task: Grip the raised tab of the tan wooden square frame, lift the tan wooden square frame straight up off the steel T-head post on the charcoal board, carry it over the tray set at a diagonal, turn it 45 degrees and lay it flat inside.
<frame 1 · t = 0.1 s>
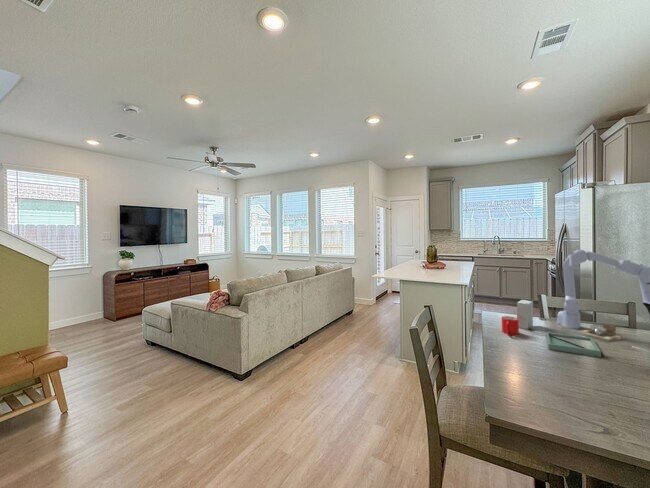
skincare box: (525, 327, 165), on the table
mug: (509, 333, 157), on the table
tan wooden square frame: (600, 335, 144), point 1 cm above the table, touching stake board
stake: (598, 339, 144), resting on stake board
tray: (570, 346, 137), on the table
stake board: (600, 338, 144), on the table
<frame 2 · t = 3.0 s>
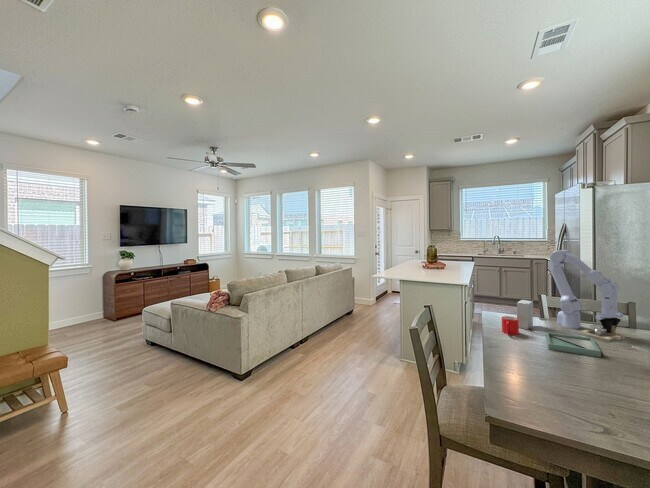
hand: (609, 332, 145), 3 cm above the table, tool pointing down, fingers closed on tan wooden square frame
tan wooden square frame: (600, 335, 144), point 1 cm above the table, touching gripper, stake board
everything else where it was.
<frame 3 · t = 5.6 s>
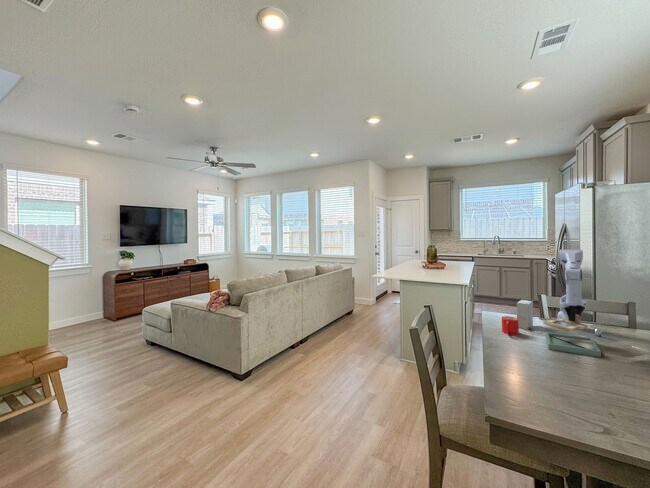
hand: (573, 320, 142), 10 cm above the table, tool pointing down, fingers closed on tan wooden square frame
tan wooden square frame: (565, 325, 141), point 9 cm above the table, touching gripper
everything else where it was.
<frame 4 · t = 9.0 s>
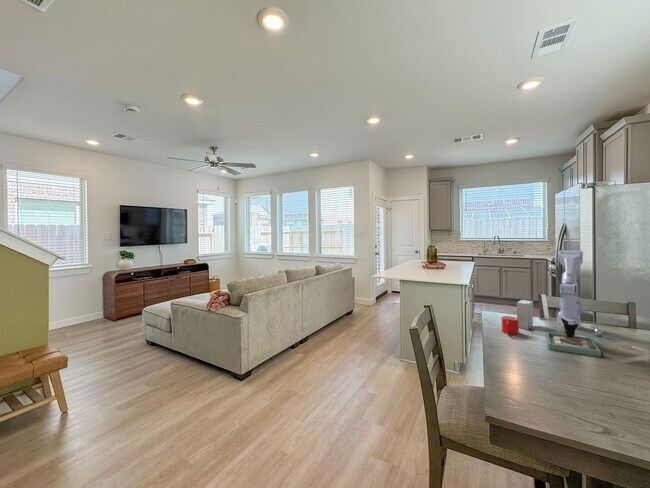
hand: (569, 335, 142), 4 cm above the table, tool pointing down, fingers open, 6 cm apart
tan wooden square frame: (570, 344, 137), point 1 cm above the table, touching tray
everything else where it was.
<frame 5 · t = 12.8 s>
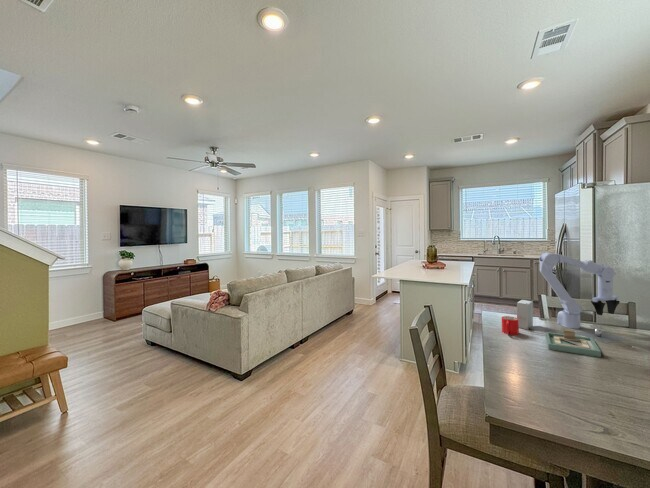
hand: (605, 314, 153), 9 cm above the table, tool pointing down, fingers open, 7 cm apart
nothing on the table moved.
at the end: tan wooden square frame 0.1 cm off-centre on the tray, point 0.8 cm above the tray's base; tan wooden square frame tilted 0°; the gripper is holding nothing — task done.
